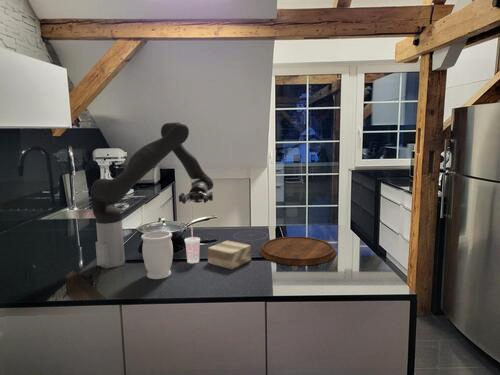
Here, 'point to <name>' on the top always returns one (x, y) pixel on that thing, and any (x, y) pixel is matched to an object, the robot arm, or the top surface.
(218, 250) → the wooden riser
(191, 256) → the beverage cup
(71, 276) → the top surface
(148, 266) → the jar
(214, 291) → the top surface
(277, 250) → the cutting board
